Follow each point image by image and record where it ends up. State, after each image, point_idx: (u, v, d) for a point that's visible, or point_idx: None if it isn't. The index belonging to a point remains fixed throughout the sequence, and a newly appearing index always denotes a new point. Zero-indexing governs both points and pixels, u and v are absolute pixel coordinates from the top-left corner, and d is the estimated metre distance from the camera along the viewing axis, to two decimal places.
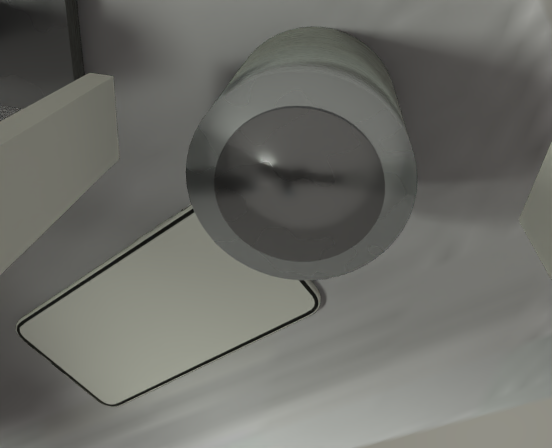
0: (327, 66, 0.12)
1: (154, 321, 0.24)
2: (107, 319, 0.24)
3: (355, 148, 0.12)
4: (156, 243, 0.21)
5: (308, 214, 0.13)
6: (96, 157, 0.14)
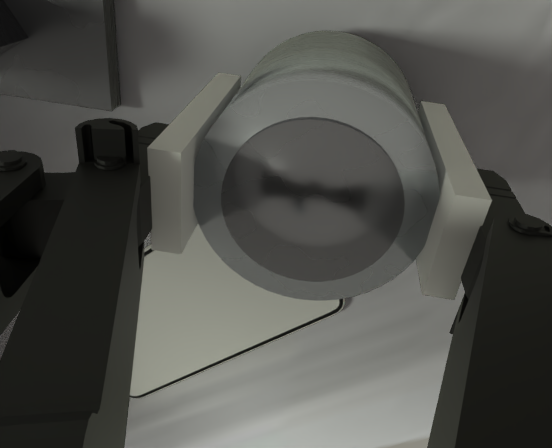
0: (343, 74, 0.11)
1: (179, 315, 0.24)
2: None
3: (373, 163, 0.11)
4: None
5: (321, 232, 0.12)
6: None
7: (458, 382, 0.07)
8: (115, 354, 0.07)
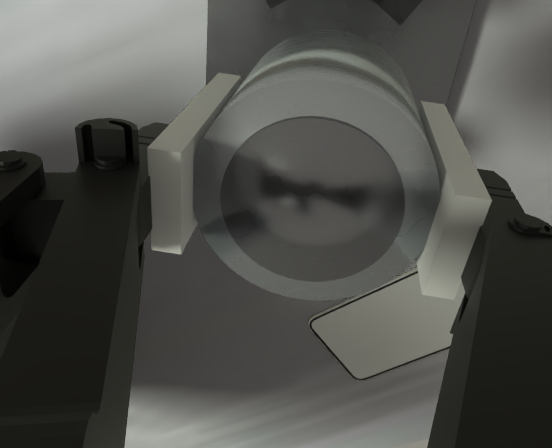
0: (343, 73, 0.11)
1: (418, 318, 0.34)
2: (383, 316, 0.35)
3: (373, 162, 0.11)
4: None
5: (321, 232, 0.12)
6: None
7: (458, 382, 0.07)
8: (115, 354, 0.07)
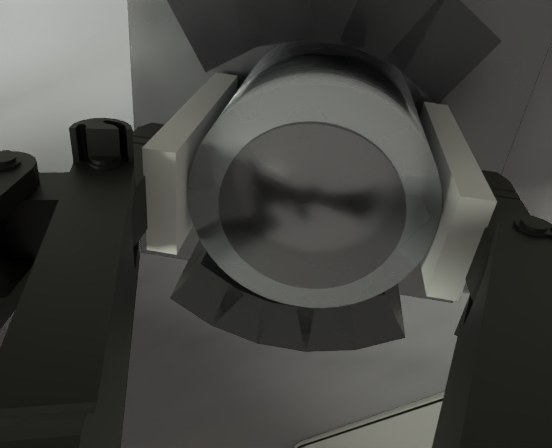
0: (344, 78, 0.11)
1: None
2: None
3: (374, 168, 0.11)
4: None
5: (321, 238, 0.12)
6: None
7: (462, 384, 0.07)
8: (111, 354, 0.07)
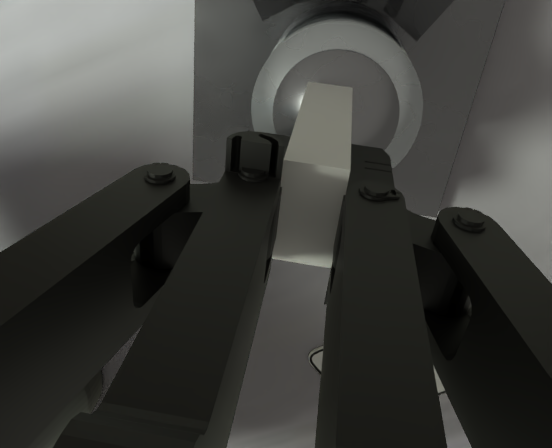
0: (359, 21, 0.16)
1: None
2: None
3: (378, 81, 0.16)
4: None
5: None
6: None
7: (334, 356, 0.07)
8: (229, 372, 0.06)
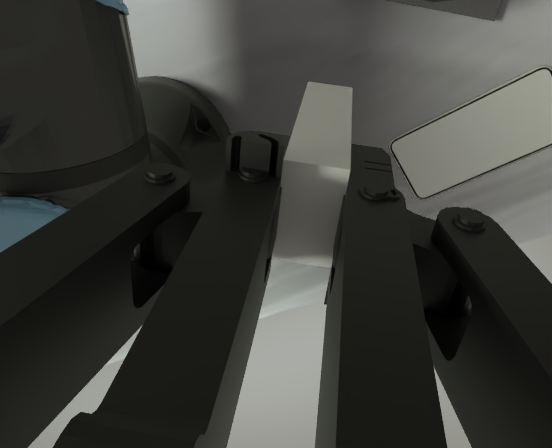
0: None
1: (475, 141, 0.46)
2: (448, 138, 0.46)
3: None
4: (499, 93, 0.43)
5: None
6: None
7: (334, 356, 0.07)
8: (229, 371, 0.06)
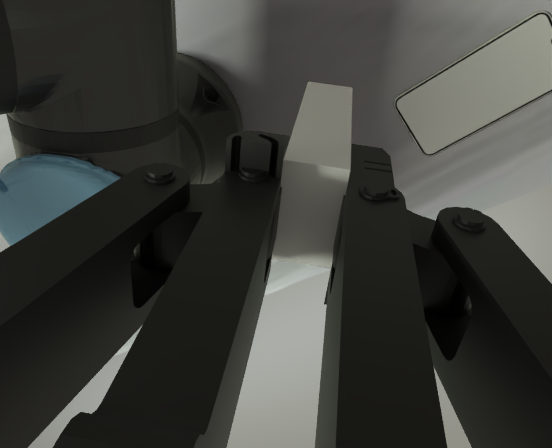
0: None
1: (478, 92, 0.47)
2: (452, 92, 0.47)
3: None
4: (498, 41, 0.44)
5: None
6: None
7: (334, 356, 0.07)
8: (229, 371, 0.06)
